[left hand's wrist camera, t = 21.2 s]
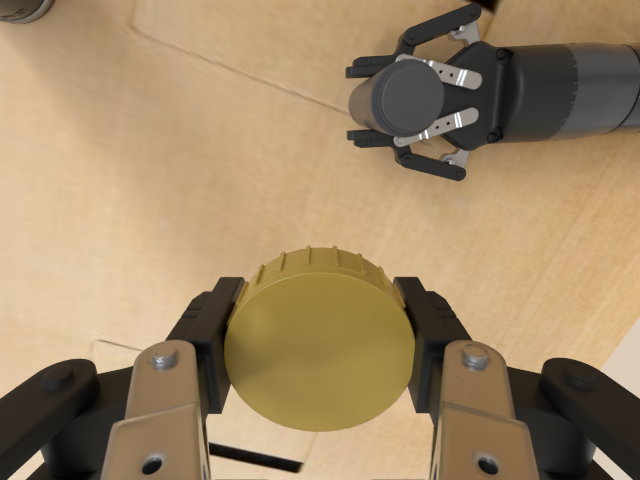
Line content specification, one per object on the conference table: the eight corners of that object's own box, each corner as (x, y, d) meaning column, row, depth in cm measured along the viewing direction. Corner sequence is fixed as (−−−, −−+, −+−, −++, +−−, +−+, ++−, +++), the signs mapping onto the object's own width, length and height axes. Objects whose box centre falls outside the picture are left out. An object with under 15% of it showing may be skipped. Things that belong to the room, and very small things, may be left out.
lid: (370, 405, 12) (378, 450, 10) (218, 368, 11) (202, 409, 10) (432, 273, 10) (452, 303, 9) (257, 222, 10) (245, 243, 8)
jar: (355, 76, 35) (388, 44, 18) (397, 88, 35) (465, 68, 19) (343, 120, 36) (363, 127, 20) (383, 131, 37) (435, 148, 20)
